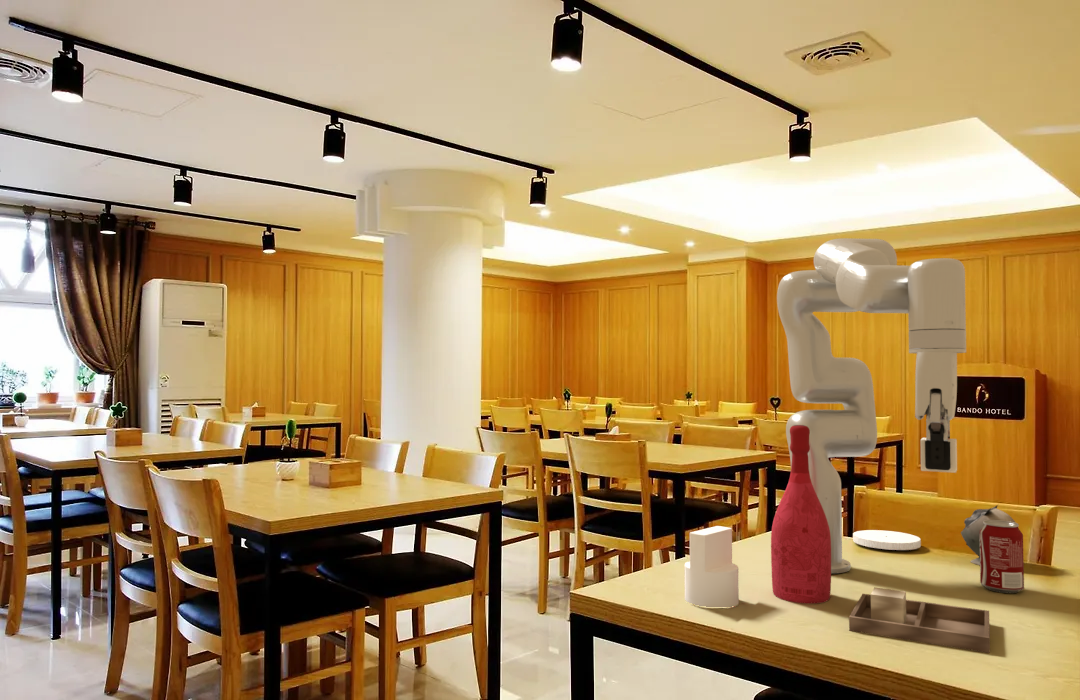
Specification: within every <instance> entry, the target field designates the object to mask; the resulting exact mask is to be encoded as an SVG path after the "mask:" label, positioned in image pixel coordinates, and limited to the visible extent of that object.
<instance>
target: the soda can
mask: <svg viewBox="0 0 1080 700" xmlns="http://www.w3.org/2000/svg"><path fill="white" fill-rule="evenodd" d="M983 523H984V525H983V527H982V528H981V529H980V565H979V570H980V571H979V575H980V576H979V577H980V578H979V579H980V580H979V581H980V582H979V583H980V585H981V586H982V587H985V588H986V589H987V590H988V591H991V592H996V593H1002V594H1017V593H1019V592H1022V591H1023V590H1024V589H1025V574H1024V573H1025V572H1024V570H1025V569H1024V568H1025V567H1024V563H1025V562H1024V561H1025V560H1024V535H1023V533H1022V531H1021V530H1020V529H1019V526H1020V525H1019V523H1017V522H1016V521H1015V522H1010V521H1002V520H985V521H983Z"/></svg>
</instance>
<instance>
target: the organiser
mask: <svg viewBox="0 0 1080 700" xmlns="http://www.w3.org/2000/svg"><path fill="white" fill-rule="evenodd" d="M848 622H849V626H848V627H849V630H848V631H850V632H856V633H862V634H867V635H873V636H880V637H886V638H892V639H898V640H905V641H911V642H918V643H923V644H930V645H937V646H942V647H947V648H948V647H949V648H956V649H959V650H960V649H961V650H968V651H973V652H980V653H985V654H990V653H991V651H990V650H991V647H990V646H991V645H990V644H991V643H990V642H991V641H990V638H991V637H990V610H985V609H979V608H971V607H964V606H957V605H950V604H949V605H948V604H942V603H934V602H929V601H927V602H926V601H920V600H912V599H906V623H905V624H901V623H895V622H888V621H881V620H875V619H871V594H867V593H862V594H861V596H860V598H859V600H858V601H857V603H855V606H854V608H853V609H852V611H851V613H850V615H849V616H848Z"/></svg>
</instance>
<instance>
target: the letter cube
mask: <svg viewBox="0 0 1080 700" xmlns="http://www.w3.org/2000/svg"><path fill="white" fill-rule="evenodd" d="M957 440H958V439H957V438H951V437H950V438H948V442H950V464H951V467H950V469H949V470H936V469H927V468H926V467H925V441H926V437H922V438H921V439H920V441H919V442H920V443H919V444H920V471H921V472H936V473H937V472H939V473H954V474H957V471H958V448H957V447H958V445H957V444H958V441H957Z"/></svg>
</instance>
